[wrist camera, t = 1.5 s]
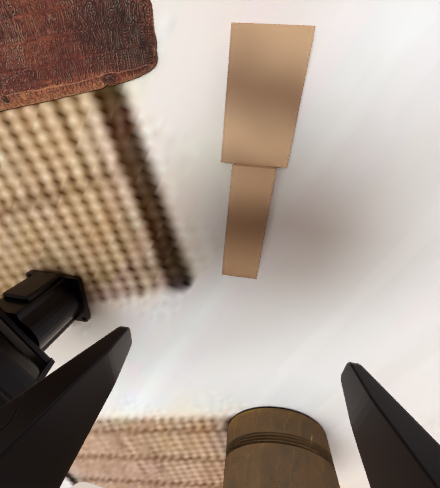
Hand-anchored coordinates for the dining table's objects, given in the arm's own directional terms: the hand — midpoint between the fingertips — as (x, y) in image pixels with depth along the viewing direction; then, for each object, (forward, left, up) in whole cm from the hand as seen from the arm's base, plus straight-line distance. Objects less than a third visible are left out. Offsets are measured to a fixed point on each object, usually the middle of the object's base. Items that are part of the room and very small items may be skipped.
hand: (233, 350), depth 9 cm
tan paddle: (+5, 0, -12) cm, 14 cm away
